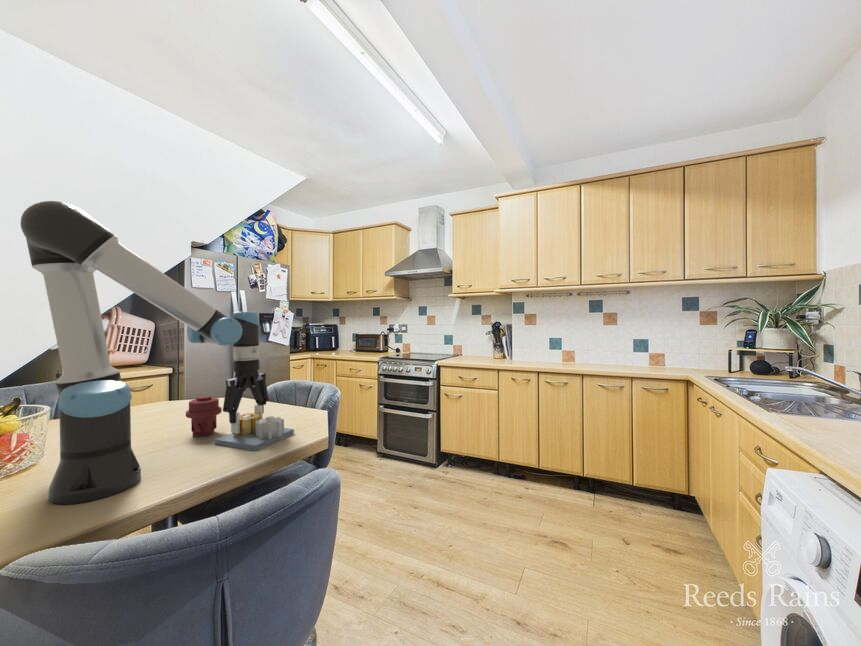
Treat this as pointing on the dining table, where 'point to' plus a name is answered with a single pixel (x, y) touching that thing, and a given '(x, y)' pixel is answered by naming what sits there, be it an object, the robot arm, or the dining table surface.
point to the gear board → (257, 435)
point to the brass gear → (248, 423)
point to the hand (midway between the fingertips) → (247, 428)
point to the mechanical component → (203, 415)
